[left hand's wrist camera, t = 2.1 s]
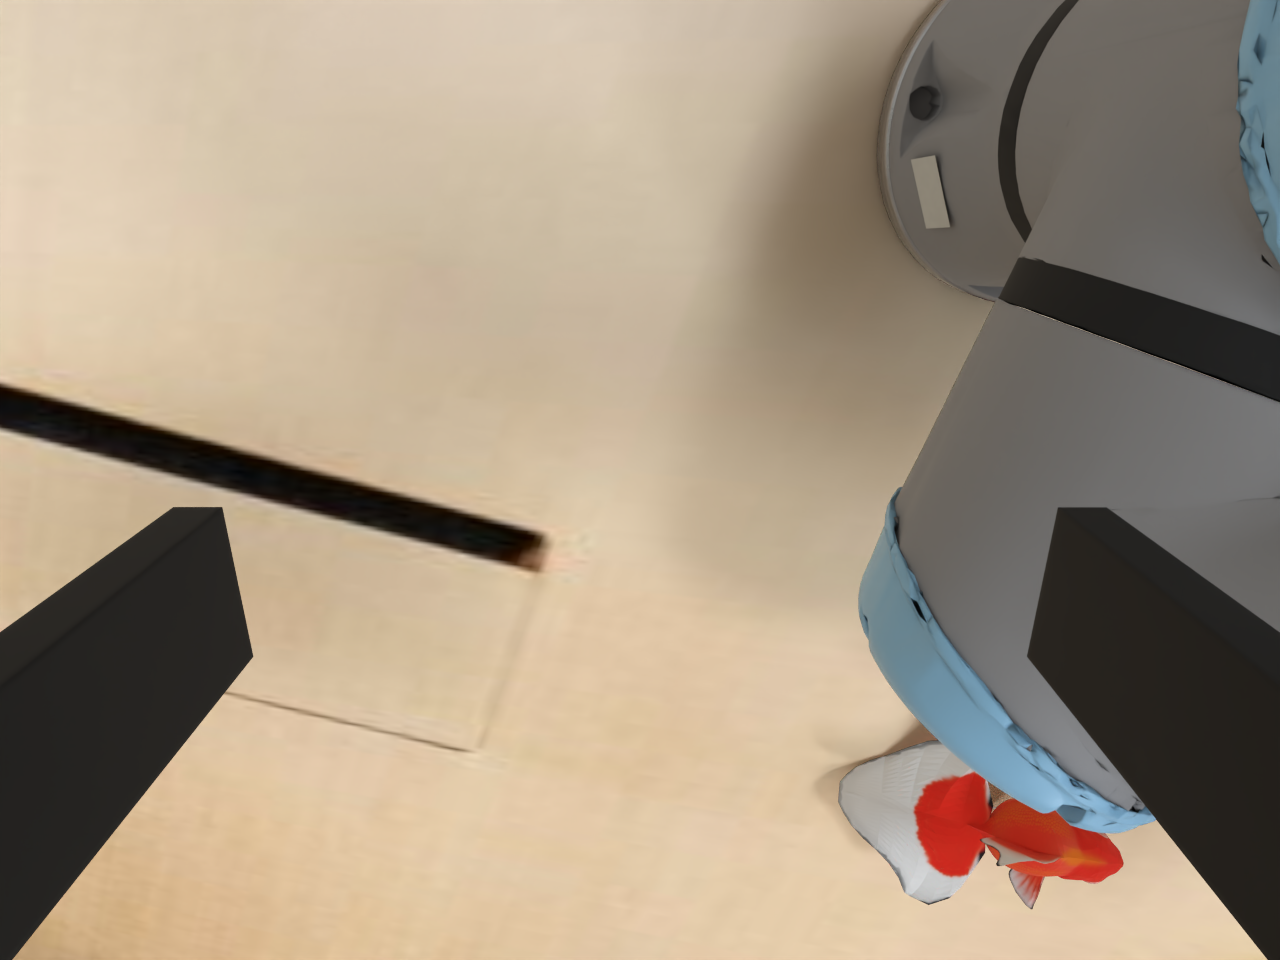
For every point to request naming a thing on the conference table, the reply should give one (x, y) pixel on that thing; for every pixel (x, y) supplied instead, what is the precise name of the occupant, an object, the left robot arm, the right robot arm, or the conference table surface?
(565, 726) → the conference table surface
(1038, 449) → the left robot arm
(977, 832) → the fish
